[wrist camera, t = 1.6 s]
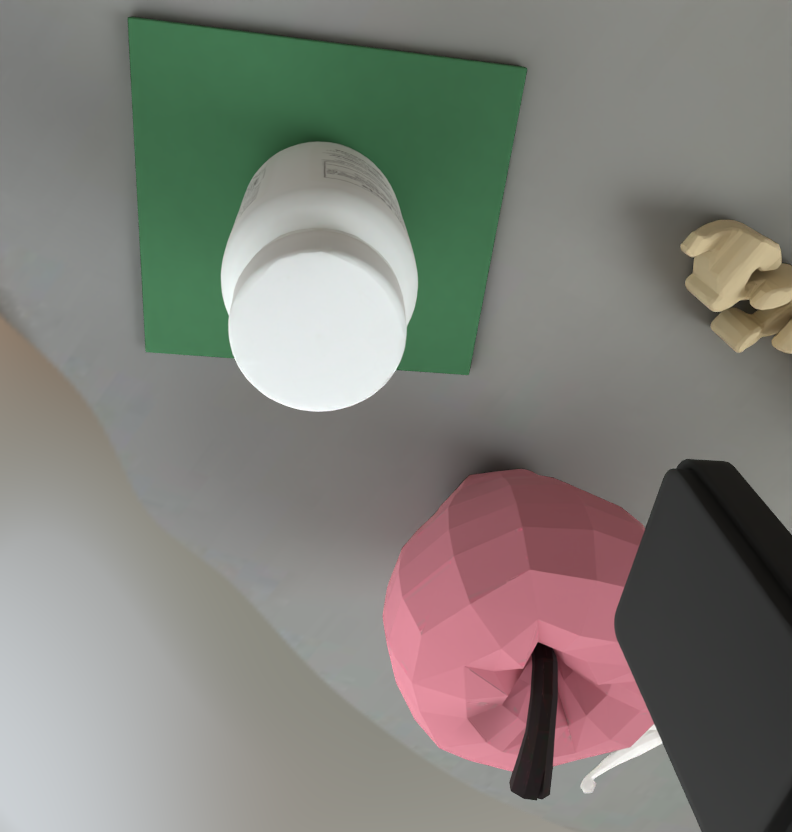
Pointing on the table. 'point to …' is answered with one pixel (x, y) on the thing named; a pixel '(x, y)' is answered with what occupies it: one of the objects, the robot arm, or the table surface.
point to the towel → (314, 122)
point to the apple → (517, 626)
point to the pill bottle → (319, 278)
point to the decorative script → (741, 283)
